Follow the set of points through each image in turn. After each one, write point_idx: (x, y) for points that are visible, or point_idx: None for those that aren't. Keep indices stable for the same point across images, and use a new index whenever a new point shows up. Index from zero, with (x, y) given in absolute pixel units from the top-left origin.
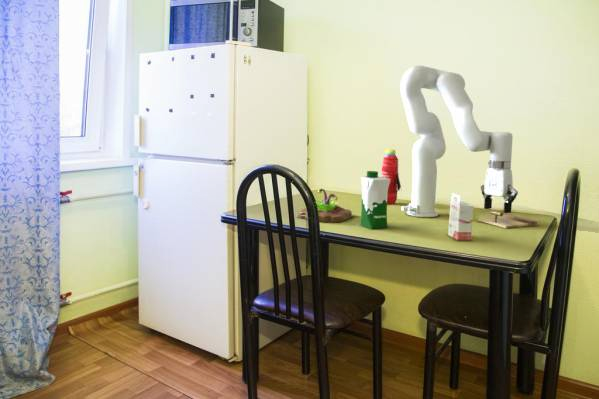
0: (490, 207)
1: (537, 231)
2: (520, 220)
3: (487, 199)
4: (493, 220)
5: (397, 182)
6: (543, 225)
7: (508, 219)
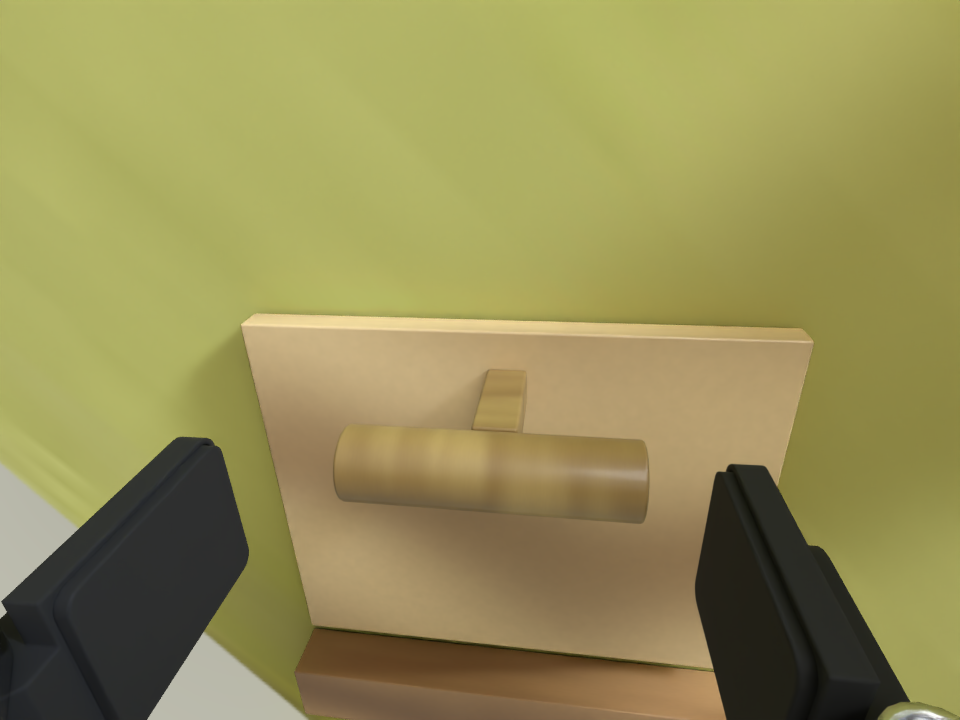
0: (700, 585)
1: (101, 499)
2: (463, 670)
3: (782, 698)
4: (515, 379)
5: None
6: None
7: (566, 627)
